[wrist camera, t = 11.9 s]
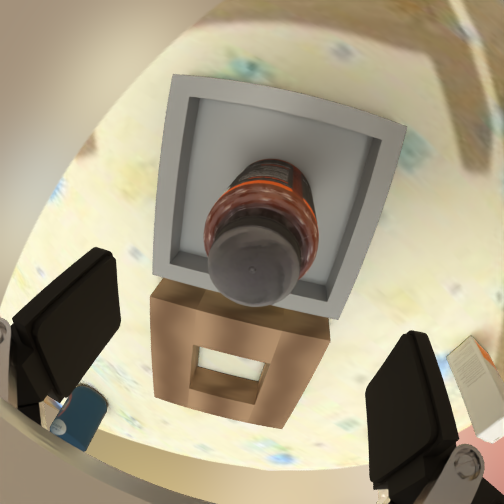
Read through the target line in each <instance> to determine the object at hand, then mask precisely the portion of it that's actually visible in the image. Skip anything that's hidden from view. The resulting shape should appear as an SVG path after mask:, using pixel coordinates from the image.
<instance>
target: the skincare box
mask: <svg viewBox="0 0 504 504" xmlns="http://www.w3.org/2000/svg"><path fill="white" fill-rule="evenodd" d="M446 358H447V361H448V363H449V365H450V368H451V370H452V372H453V375H454V377H455V380H456V382H457V385H458V387H459V390H460V392H461V395H462V398H463V400H464V403H465V406H466V408H467V411H468V414H469V417H470V420H471V423H472V425H473V428H474V431H475V434H476V437H478V438H480V439H482V440H483V441H486V442H490V443H494V442H496V441H497V440H499V439H500V438H502V437H503V436H504V383H503V380H502V379H501V377H500V375H499V373H498V371H497V369H496V367H495V365H494V363H493V361H492V359H491V357H490V356H489V354H488V352H486V351H485V350H484V349H483V348H482V347H481V346H480V345H479V344H478V342H477V341H476V340H475V339H474V338H473V337H472V336H469V337H468V338H467V339H466V340H465V341H464V342H463V343H462V344H461V345H460V346H458V347H457V348H456V349H455V350H454V351H453V352H451V353H450V354H449V355H448V356H447V357H446Z"/></svg>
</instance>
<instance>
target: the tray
mask: <svg viewBox="0 0 504 504" xmlns="http://www.w3.org/2000/svg"><path fill="white" fill-rule="evenodd" d="M406 130H407V126H404V125H402V124H399V123H396V122H394V121H391V120H388V119H386V118H383V117H380V116H377V115H374V114H371V113H368V112H365V111H362V110H359V109H356V108H353V107H350V106H346V105H343V104H340V103H336V102H333V101H329V100H325V99H322V98H318V97H314V96H310V95H306V94H302V93H297V92H293V91H289V90H284V89H279V88H274V87H269V86H264V85H258V84H253V83H247V82H240V81H234V80H226V79H219V78H210V77H201V76H190V75H178V74H173V76H172V81H171V87H170V92H169V98H168V104H167V111H166V117H165V124H164V131H163V139H162V147H161V155H160V164H159V174H158V184H157V195H156V208H155V223H154V242H153V272H152V274H153V275H156V276H160V277H163V278H167V279H170V280H174V281H178V282H181V283H185V284H189V285H193V286H196V287H200V288H204V289H208V290H212V291H215V292H219V291H218V289H217V288H216V287H215V285H214V284H213V282H212V280H211V278H210V275H209V272H208V264H207V260H208V257H207V254H206V251H205V247H204V238H203V237H204V228H205V222H206V219H207V216H208V214H209V212H210V210H211V209H212V207H213V206H214V204H215V203H216V202H217V200H218V199H219V198H220V197H221V195H222V194H223V193H224V192H225V190H226V189H227V188H228V187H229V186H230V185H231V183H232V182H233V181H234V180H235V178H236V177H237V176H238V175H239V174H240V172H241V171H243V170H244V169H245V168H246V167H247V166H249V165H250V164H252V163H254V162H256V161H259V160H263V159H279V160H283V161H286V162H289V163H291V164H292V165H294V166H295V167H296V168H298V169H299V170H300V171H301V172H302V173H303V175H304V176H305V178H306V179H307V181H308V183H309V185H310V188H311V191H312V196H313V202H314V207H315V213H316V219H317V226H318V232H319V242H318V250H317V254H316V257H315V260H314V262H313V264H312V266H311V267H310V269H309V270H308V272H307V273H306V274H305V275H304V276H303V277H302V278H300V279H299V280H298V281H297V284H296V286H295V287H294V289H293V290H292V292H291V293H290V294H289V295H288V296H286V297H285V298H284V299H283V300H281V301H279V302H277V303H274V304H273V306H277V307H281V308H286V309H290V310H295V311H299V312H304V313H308V314H313V315H317V316H322V317H327V318H332V319H336V320H338V319H339V317H340V315H341V313H342V310H343V308H344V306H345V304H346V301H347V299H348V297H349V295H350V292H351V290H352V288H353V285H354V283H355V280H356V278H357V276H358V273H359V271H360V268H361V266H362V263H363V261H364V258H365V256H366V253H367V251H368V248H369V245H370V243H371V240H372V237H373V235H374V232H375V229H376V227H377V224H378V221H379V218H380V215H381V212H382V210H383V207H384V204H385V201H386V198H387V195H388V192H389V188H390V185H391V182H392V179H393V176H394V172H395V169H396V166H397V162H398V159H399V155H400V152H401V148H402V145H403V141H404V137H405V133H406ZM219 293H220V292H219Z"/></svg>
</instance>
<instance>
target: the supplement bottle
mask: <svg viewBox="0 0 504 504" xmlns="http://www.w3.org/2000/svg"><path fill="white" fill-rule="evenodd" d="M203 238H204V247H205V251H206V254H207V257H208V260H207V264H208V272H209V275H210V278H211V280H212V282H213V284H214V285H215V287H216V288H217V289H218V291H219V292H220V293H221V294H223V295H224V296H225V297H226V298H228V299H230V300H231V301H234V302H235V303H237V304H241V305H244V306H250V307H262V306H268V305H273V304H274V303H277V302H279V301H281V300H283V299H284V298H285V297H286V296H288V295H289V294H290V293H291V292H292V290H293V289H294V287H295V286H296V284H297V281H298V280H299V279H300V278H302V277H303V276H304V275H305V274H306V273H307V272H308V270H309V269H310V267H311V266H312V264H313V262H314V260H315V257H316V254H317V250H318V242H319V232H318V226H317V219H316V213H315V207H314V202H313V196H312V191H311V188H310V185H309V183H308V181H307V179H306V178H305V176H304V175H303V173H302V172H301V171H300V170H299V169H298V168H296V167H295V166H294V165H292V164H291V163H289V162H286V161H283V160H279V159H263V160H259V161H256V162H254V163H252V164H250V165H249V166H247V167H246V168H245V169H244V170H243V171H241V172H240V174H239V175H238V176H237V177H236V178H235V180H234V181H233V182H232V183H231V185H230V186H229V187H228V188H227V189H226V190H225V192H224V193H223V194H222V195H221V197H220V198H219V199H218V200H217V202H216V203H215V204H214V206H213V207H212V209H211V210H210V212H209V214H208V216H207V219H206V222H205V228H204V237H203Z"/></svg>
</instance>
